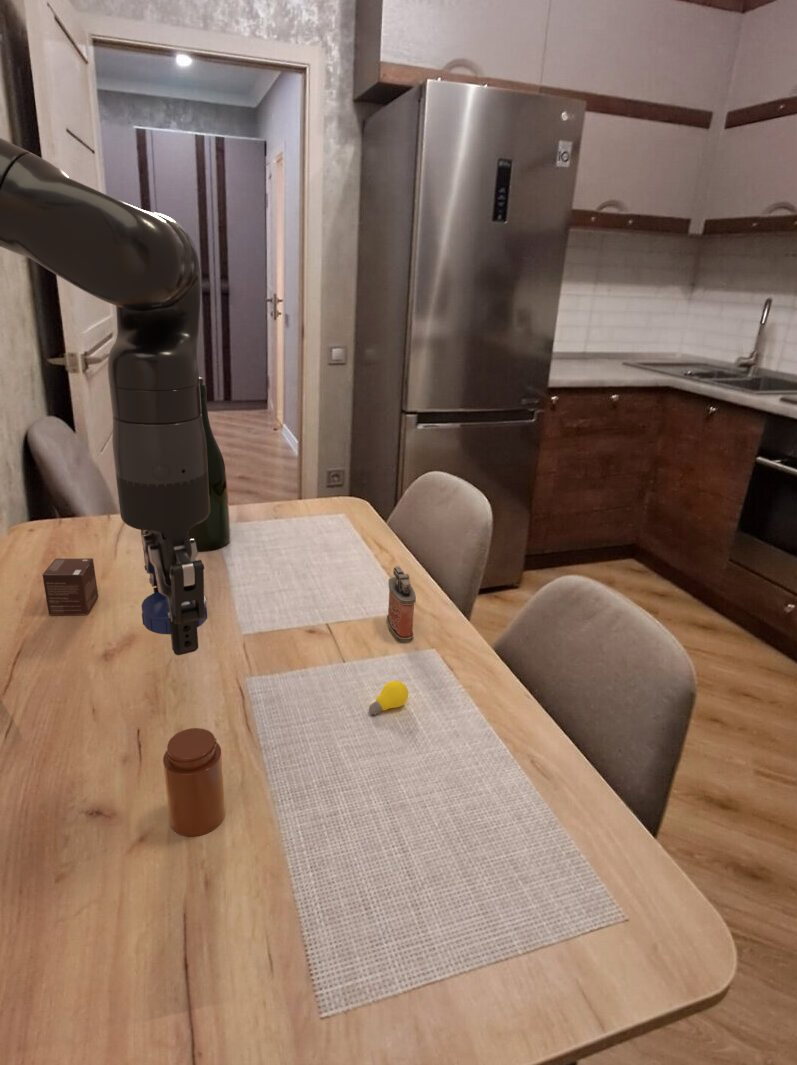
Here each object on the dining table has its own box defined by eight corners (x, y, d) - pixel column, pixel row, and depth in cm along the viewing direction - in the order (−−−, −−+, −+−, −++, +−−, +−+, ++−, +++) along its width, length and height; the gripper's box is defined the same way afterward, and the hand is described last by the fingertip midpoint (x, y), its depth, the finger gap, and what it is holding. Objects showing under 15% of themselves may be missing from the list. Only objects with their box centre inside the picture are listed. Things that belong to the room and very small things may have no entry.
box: (61, 597, 111) (55, 557, 108) (99, 597, 112) (94, 557, 109) (48, 616, 105) (40, 574, 103) (87, 615, 106) (81, 574, 103)
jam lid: (218, 609, 65) (217, 592, 64) (187, 639, 60) (185, 621, 59) (165, 599, 66) (164, 583, 66) (130, 628, 61) (128, 611, 60)
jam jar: (169, 841, 67) (160, 766, 63) (170, 800, 72) (162, 728, 68) (226, 830, 68) (221, 757, 65) (223, 791, 73) (219, 721, 70)
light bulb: (412, 702, 89) (413, 688, 87) (377, 728, 87) (377, 714, 84) (396, 684, 91) (397, 670, 89) (362, 709, 89) (361, 696, 86)
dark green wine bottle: (168, 539, 135) (153, 374, 123) (215, 528, 142) (205, 370, 129) (192, 556, 128) (179, 383, 116) (240, 544, 135) (233, 379, 122)
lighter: (417, 641, 104) (421, 584, 100) (396, 644, 103) (399, 586, 99) (402, 616, 111) (405, 562, 107) (382, 618, 110) (385, 563, 106)
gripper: (231, 486, 54) (239, 663, 60) (184, 441, 65) (195, 595, 71) (133, 498, 50) (153, 686, 56) (101, 448, 61) (121, 610, 68)
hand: (176, 634), depth 64 cm, fingers closed on jam lid, 5 cm apart
